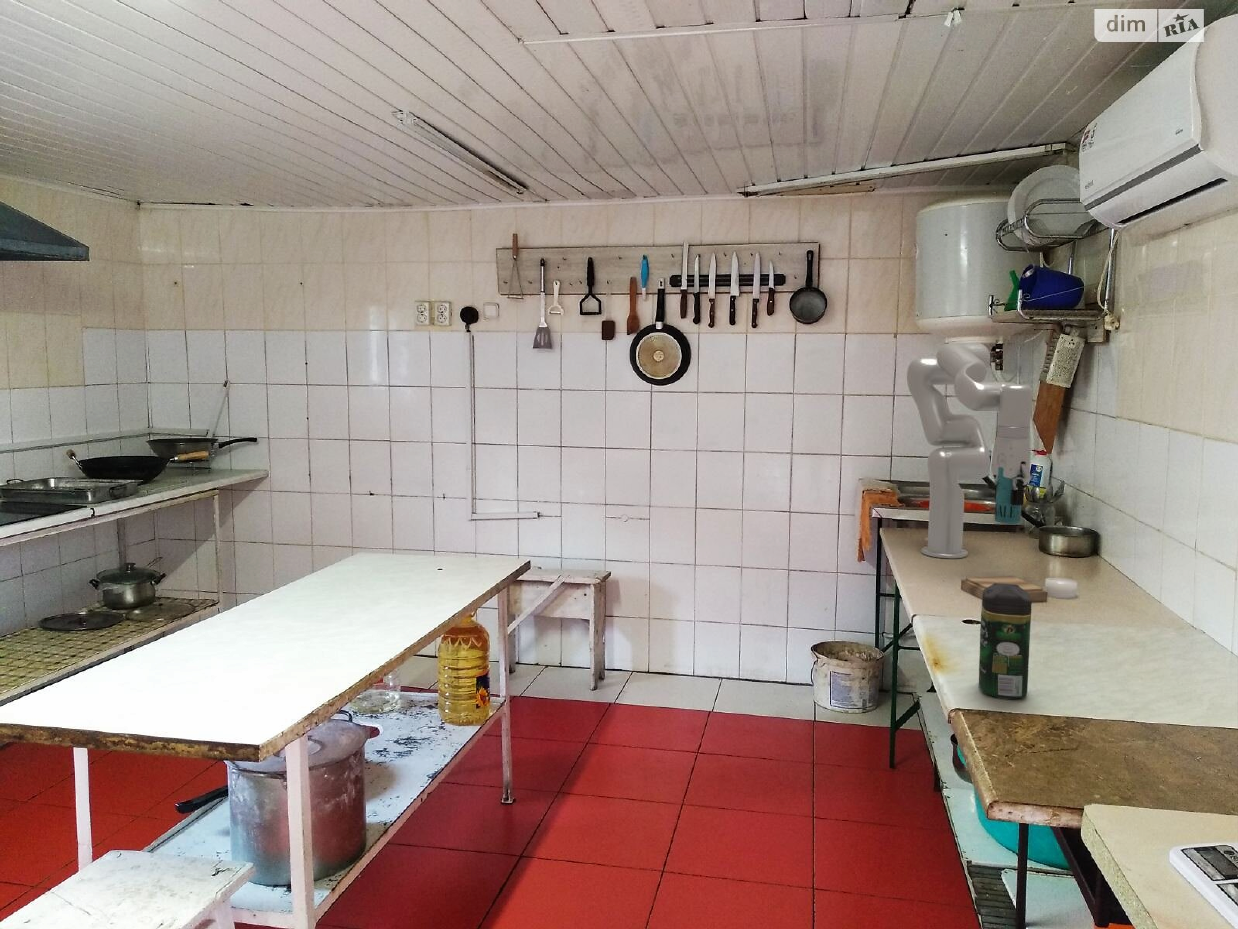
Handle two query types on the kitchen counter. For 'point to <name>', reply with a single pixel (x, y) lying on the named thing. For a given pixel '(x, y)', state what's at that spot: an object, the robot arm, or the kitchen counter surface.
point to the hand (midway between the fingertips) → (1008, 501)
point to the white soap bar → (1061, 588)
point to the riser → (980, 583)
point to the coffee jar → (1005, 641)
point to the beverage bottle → (1006, 501)
